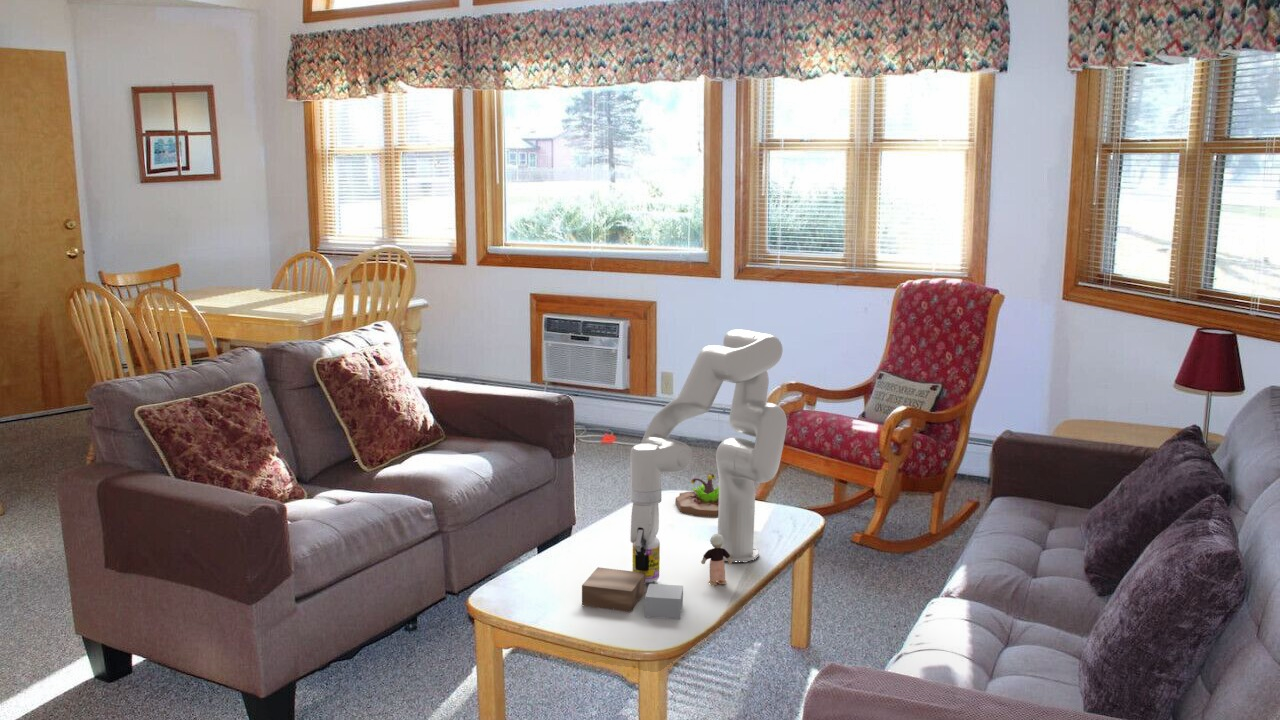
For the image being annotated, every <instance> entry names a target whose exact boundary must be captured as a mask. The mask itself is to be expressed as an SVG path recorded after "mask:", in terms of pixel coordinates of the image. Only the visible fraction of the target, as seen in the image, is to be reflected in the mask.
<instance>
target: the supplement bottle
mask: <svg viewBox="0 0 1280 720" xmlns="http://www.w3.org/2000/svg"><path fill="white" fill-rule="evenodd" d="M655 534H656V529H655V531H654V538H653V540H652V541H651V543H649V544H648V552H647V555H649V570H648V571H642V570H636V569H635V551H636V550H635V549H636V548H635V542H636V541H635V542H634V543H632V571H634V572H642V573H645V584H646V583H648V584H649V583H654V582H656V581H657V580H658V579H659V578H660V558H661V557H660V556H661V554H660V551H661V550H660V548H661V547H660V546H661V544H660V543H661V542H660V540H659V538H658V537H657V536H656V537H655ZM642 542H646V540H642ZM642 547H643V548H644V550H645V545H642Z"/></svg>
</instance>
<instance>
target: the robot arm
mask: <svg viewBox="0 0 1280 720" xmlns="http://www.w3.org/2000/svg"><path fill="white" fill-rule="evenodd" d="M782 356H783V344H782V342H781V340H780V339H779V338H778V337H777V336H776V335H775V336H774V335H773V334H770V333H764V332H758V331H754V330H748V329H740V328H739V329H738V328H737V329H736V328H735V329H731V330H729V331H727V332H726V334H725V335H724V337H723V344H722V345H718V344H717V345H716V344H711V345H706V346H704V347H703V348H701V350H700V351H699V353H698V355H697V357H696V359H695V360H694V363H693V365H692V367H691V369H690V371H689V373H688V375H687V378H686V379H685V382H684V384H683V386H682V388H681V390H680V392H679V394H678V395H677V396H676V397H675V398H674V399H673V400H671V401H670V402H669V403H666V405H664V406H663V408H662V409H661V408H660V410H659V411H658V412H657V413H656V414H655V415H654V417H653V418H652V419H651V420H650V423H649V425H648V426H647V429H646V430H645V433H644V435H643V437H642V439H641V443H639V444H635V445H633V446H632V447H631V449H630V456H629V458H630V461H629V462H630V463H629V464H630V503H632V509H631V519H630V539H629V540H630V541H629V542H631V544H633V543H634V542H635V541H636V542H635V548H636V549H635V550H636V551H635V569H636V570H642V571H648V570H649V555H647V552H648V544H649V543H651V541H652V540H653V538H654V531H655V529H656V534H655V537H656V538H657V535H658V533H659V527H660V526H659V525H660V518H659V517H660V513H659V512H660V511H659V509H660V507H659V504H661V502H662V474H666V473H668V474H669V473H679V472H683V471H685V470H687V469H688V468H689V467H690V466H691V464H692V462H693V459H694V453H693V450H692V448H691V447H690V446H689V445H688V444H686V443H685V442H682V441H680V440H676V439H673V438H671V437H670V435H671V434H672V432H673V431H674V429H676V427H677V426H678V425H679V424H681V423H682V422H684V421H685V420H689V419H692V418H695V417H697V416H700V415H703V414H705V413H708V412H709V411H710V410H711V408H712V405H713V404H714V403H715V402H714V401H715V399H716V397H717V395H718V393H719V390H720V389H721V387H722V384H723V383H724V382H727V383H732V384H735V386H734V391H733V392H734V393H733V397H732V401H731V407H730V412H729V426H730V427H731V429H733V431H735V432H737V433H739V434H743V435H747V436H750V437H753V438H755V441H753V440H748V439H745V438H741V437H740V438H739V437H729V438H726V439H723V440H722V441H721V443H719V445H718V447H717V449H716V453H715V462H716V467H717V468H716V469H717V473H718V474H717V475H718V487H719V506H718V516H717V534H721V535H722V536H723V539H724V542H723V544H722V546H721V547H720V548H723V549H725V550H726V551H727V552H728V553H729V555H730V557H731V560H732V562H735V561H737V562H739V561H740V562H743V561H750V560H753V559H755V560H757V559H758V558H759V557H758V556H760V551H759V550H758V548H757V547H755V546H754V537H755V536H754V535H755V512H756V511H755V509H756V507H755V506H756V505H755V504H756V488H755V487H756V486H755V483H754V482H756V483H763V484H764V483H768V482H770V481H772V480H773V479H774V477H775V476H776V475H777V473H778V470H779V467H780V464H781V463H780V462H781V459H782V456H783V455H782V453H783V450H784V444H785V440H786V439H785V438H786V433H787V427H788V420H787V419H788V418H787V415H786V413H785V411H784V409H783V408H782V407H781V406H780V405H778V404H776V403H773V402H768V401H767V396H768V392H769V391H768V390H769V381H770V380H769V373H768V370H771V369H772V368H774V367H775V366H776V365H777V364H778V363H779V362H780V360H781V358H782ZM642 540H646V542H642ZM642 545H645V550H644V548H643V547H642ZM711 549H714V547H713V546H712V548H711ZM757 557H758V558H757ZM756 558H757V559H756ZM723 559H724V562H725V561H728V560H727V559H726V558H725V557H724V556H723ZM753 561H754V560H753ZM750 562H751V561H750Z"/></svg>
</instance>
